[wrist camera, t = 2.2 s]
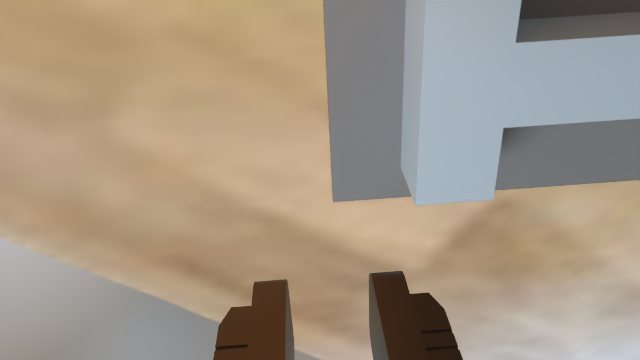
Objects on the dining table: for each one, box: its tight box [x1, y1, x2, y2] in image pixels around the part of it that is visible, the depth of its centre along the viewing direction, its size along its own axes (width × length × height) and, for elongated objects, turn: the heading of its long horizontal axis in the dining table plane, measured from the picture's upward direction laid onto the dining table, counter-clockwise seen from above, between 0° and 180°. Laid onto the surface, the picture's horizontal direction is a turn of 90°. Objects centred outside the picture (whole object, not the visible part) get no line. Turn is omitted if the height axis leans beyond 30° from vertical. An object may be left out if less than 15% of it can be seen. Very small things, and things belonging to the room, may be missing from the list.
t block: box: [401, 0, 640, 205], centre depth 24 cm, size 12×12×4 cm
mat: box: [323, 0, 640, 202], centre depth 26 cm, size 26×16×1 cm, turn 93°
